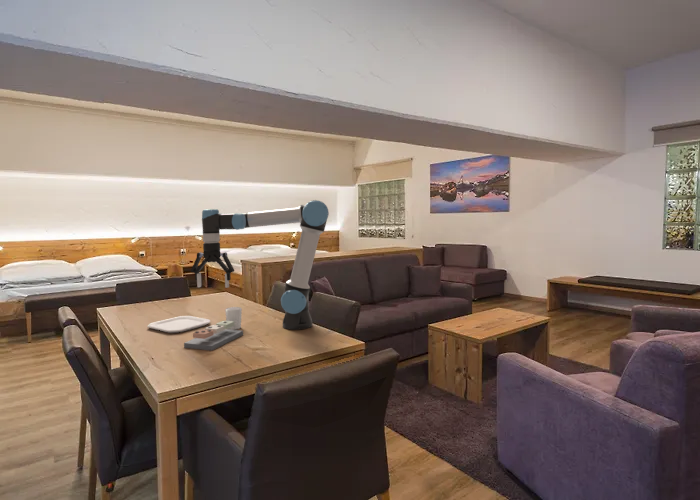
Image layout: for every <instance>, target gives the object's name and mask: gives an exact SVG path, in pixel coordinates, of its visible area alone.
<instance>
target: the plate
mask: <svg viewBox="0 0 700 500" xmlns="http://www.w3.org/2000/svg"><path fill="white" fill-rule="evenodd" d="M210 322H211V319H208V318H205V317H197V316H194V315H193V316H192V315H179V316H175V317H171V318H167V319H162V320H158V321H154V322H150V323H149V324H148V325H147V328H149V329H152V330H156V331H159V330H160V331H159V332H163V333H169V334H176V333H177V334H178V333H179V332H180V333H184V332H187V331H191V330H194V329H198V328H202V327H204V326H206V325H209V324H210ZM180 333H179V334H180Z"/></svg>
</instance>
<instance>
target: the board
mask: <svg viewBox="0 0 700 500" xmlns="http://www.w3.org/2000/svg"><path fill="white" fill-rule="evenodd" d="M242 336H244V330H241V329H236V330H230V329H224V331H221V332H219V333H217V334H214V335H212V336H210V337H208V338H206V339H201V338H192V339H189V340H188V341H185V342H184V343H183V348H185V349H187V348H188V349H194V350H195V349H196V350H203V351H204V350H205V351H213V350H214V351H215V350H216V349H218V348H220V347H222V346H223V345H226V344H228V343H230V342H232V341H233V340H237V339H238V338H240V337H242Z"/></svg>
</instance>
